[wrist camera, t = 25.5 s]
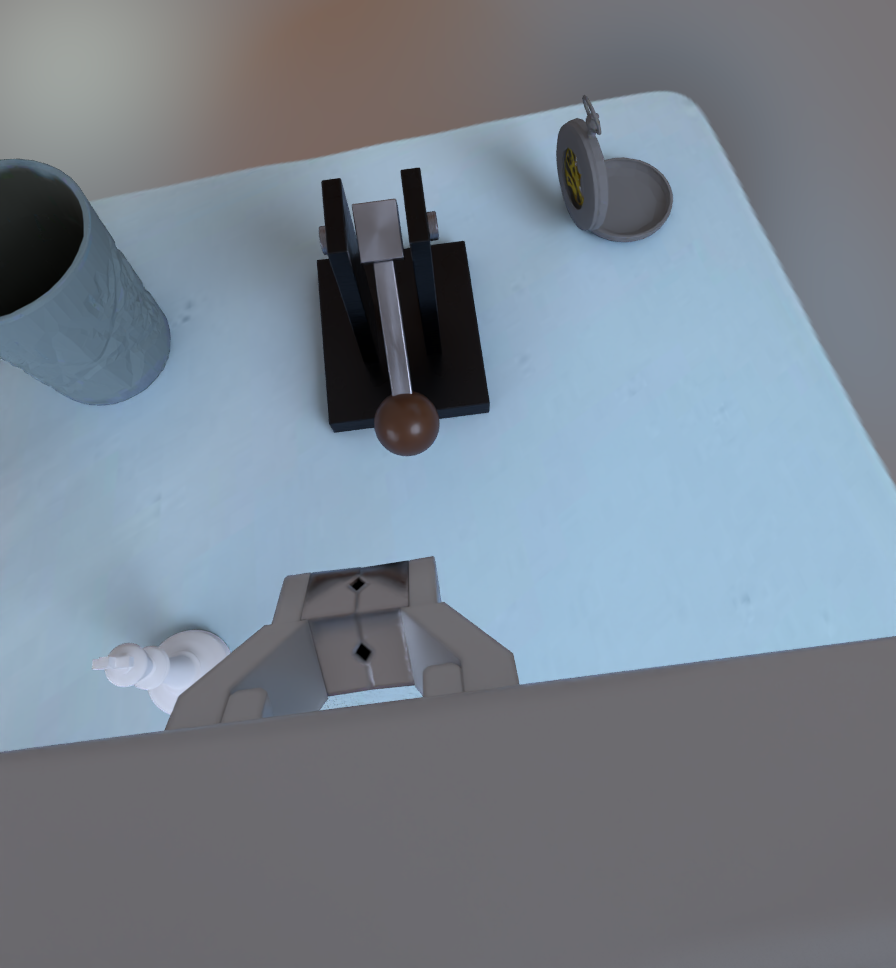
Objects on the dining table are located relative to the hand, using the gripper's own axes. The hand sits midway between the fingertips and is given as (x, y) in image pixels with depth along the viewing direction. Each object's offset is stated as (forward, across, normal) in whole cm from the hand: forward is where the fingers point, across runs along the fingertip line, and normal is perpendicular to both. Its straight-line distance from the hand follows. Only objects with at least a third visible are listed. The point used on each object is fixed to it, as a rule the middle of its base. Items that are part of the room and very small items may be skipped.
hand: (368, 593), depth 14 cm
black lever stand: (+34, 0, +4) cm, 35 cm away
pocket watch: (+40, -15, -1) cm, 43 cm away
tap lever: (+27, 0, +2) cm, 27 cm away
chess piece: (+21, +14, +18) cm, 31 cm away
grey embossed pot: (+36, +20, +3) cm, 41 cm away
